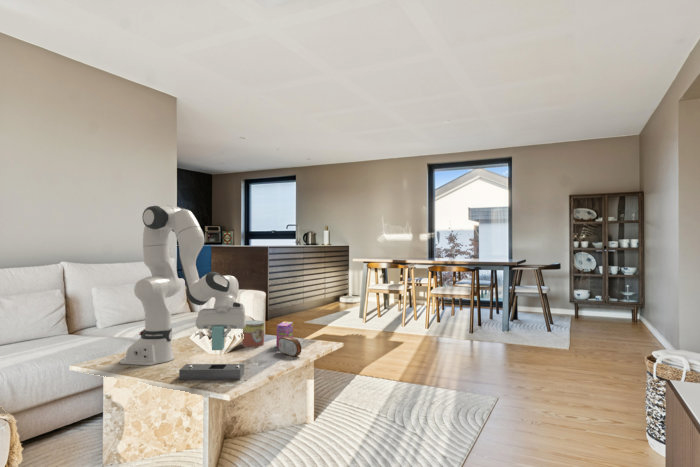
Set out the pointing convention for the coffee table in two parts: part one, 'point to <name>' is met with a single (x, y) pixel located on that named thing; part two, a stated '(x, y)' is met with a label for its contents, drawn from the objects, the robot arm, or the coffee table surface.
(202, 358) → the coffee table surface
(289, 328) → the box
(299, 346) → the tin
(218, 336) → the peg
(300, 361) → the coffee table surface
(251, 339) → the canned food
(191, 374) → the grey slotted base
